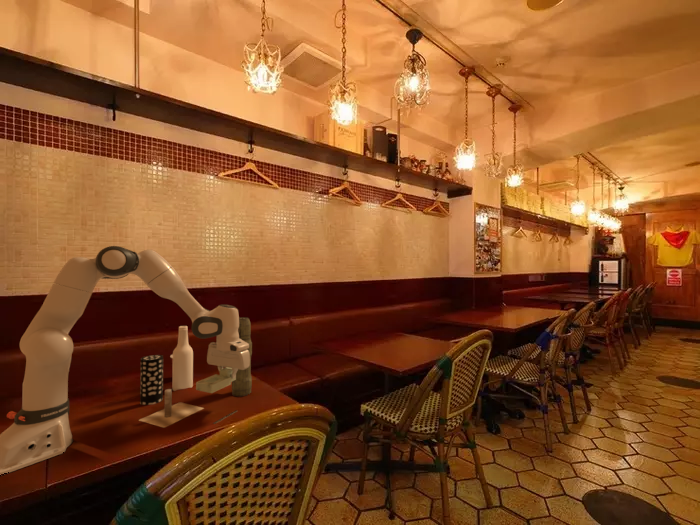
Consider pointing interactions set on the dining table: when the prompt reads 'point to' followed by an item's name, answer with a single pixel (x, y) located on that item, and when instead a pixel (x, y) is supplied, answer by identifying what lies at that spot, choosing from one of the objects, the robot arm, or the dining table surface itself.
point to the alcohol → (182, 362)
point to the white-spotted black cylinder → (151, 380)
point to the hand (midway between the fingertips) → (227, 377)
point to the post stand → (170, 412)
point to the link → (216, 381)
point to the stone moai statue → (244, 376)
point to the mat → (225, 417)
